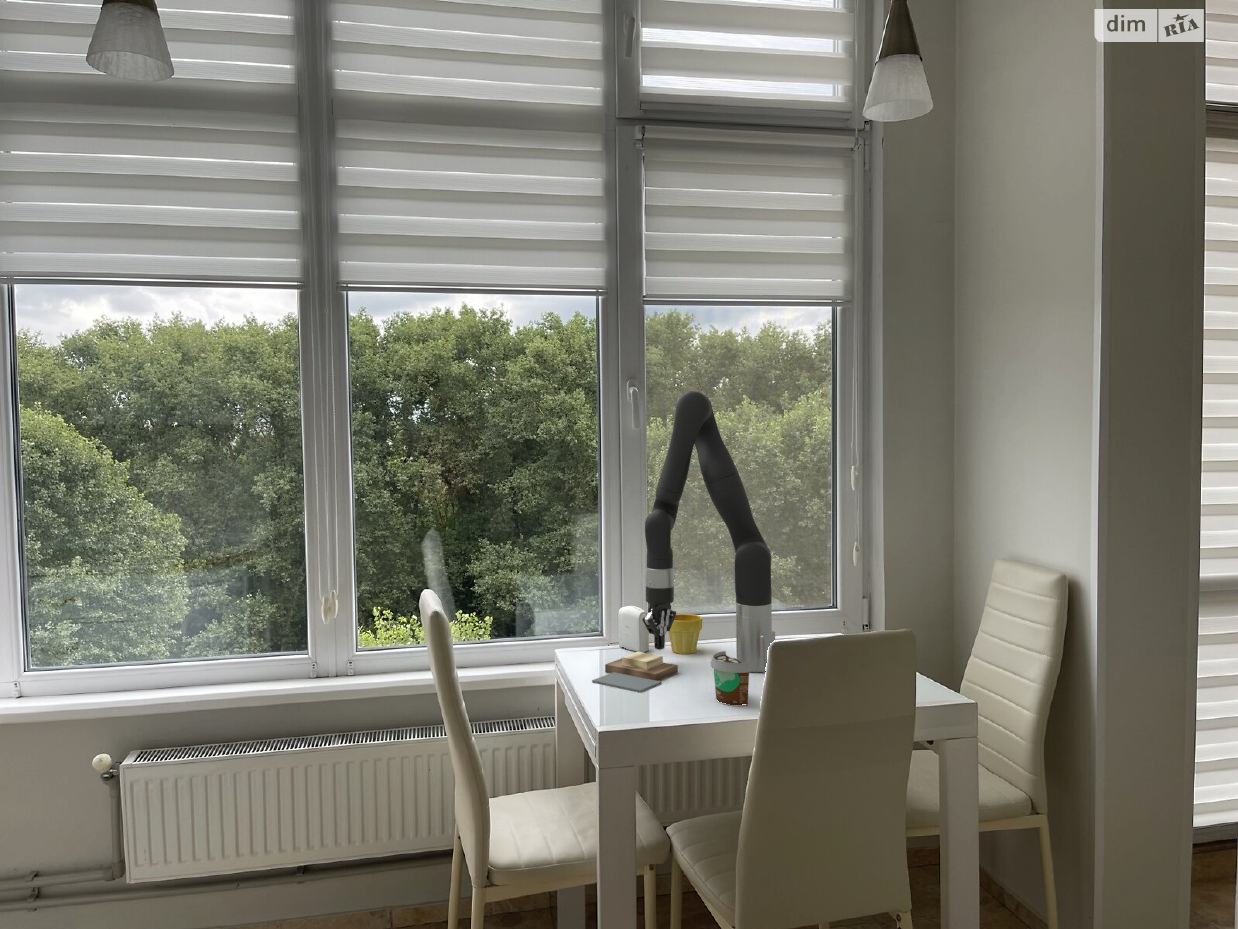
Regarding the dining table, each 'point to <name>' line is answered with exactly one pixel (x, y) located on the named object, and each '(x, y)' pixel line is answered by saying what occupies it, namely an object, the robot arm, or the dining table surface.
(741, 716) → the dining table surface
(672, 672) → the brown wooden block
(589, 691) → the dining table surface
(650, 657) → the cream flat block
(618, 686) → the mat
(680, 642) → the plant pot
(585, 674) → the dining table surface
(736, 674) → the food container
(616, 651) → the dining table surface
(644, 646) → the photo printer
